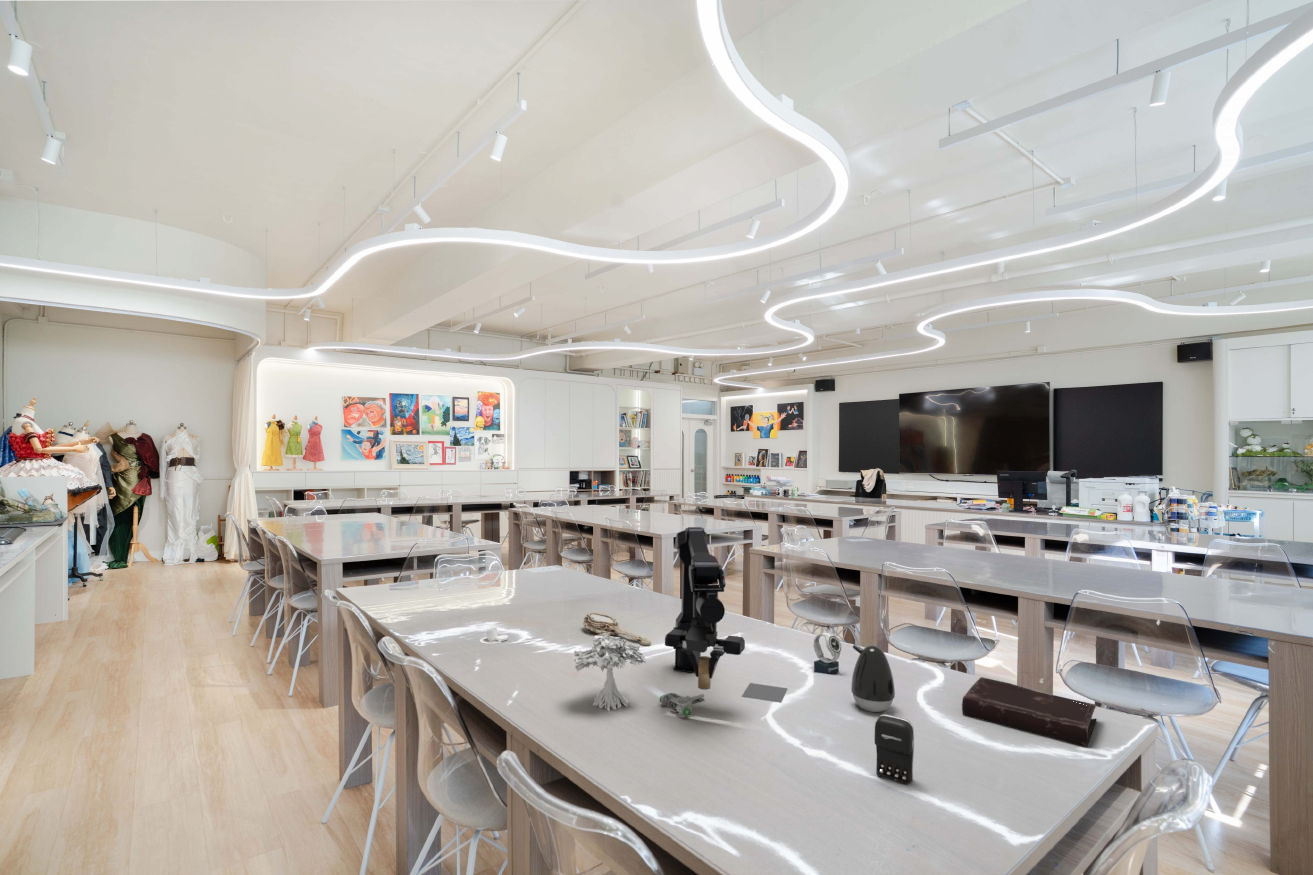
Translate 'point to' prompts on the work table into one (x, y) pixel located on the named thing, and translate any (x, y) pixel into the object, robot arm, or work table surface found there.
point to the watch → (825, 663)
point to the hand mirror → (609, 627)
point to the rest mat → (765, 692)
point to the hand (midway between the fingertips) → (704, 677)
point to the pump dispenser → (872, 680)
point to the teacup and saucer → (493, 636)
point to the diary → (1030, 711)
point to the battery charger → (894, 748)
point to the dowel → (704, 672)
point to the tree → (609, 665)
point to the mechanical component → (680, 703)
